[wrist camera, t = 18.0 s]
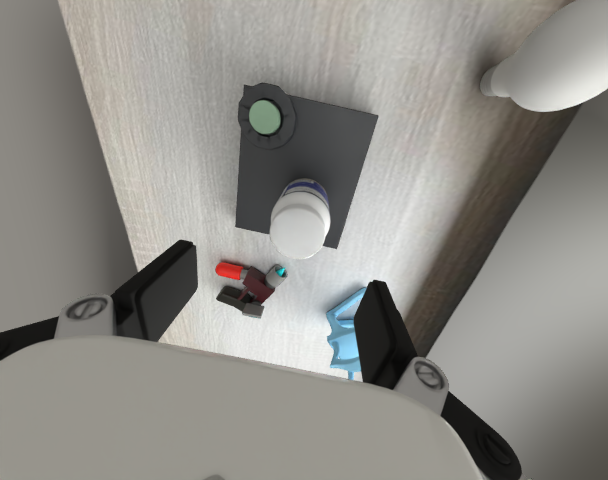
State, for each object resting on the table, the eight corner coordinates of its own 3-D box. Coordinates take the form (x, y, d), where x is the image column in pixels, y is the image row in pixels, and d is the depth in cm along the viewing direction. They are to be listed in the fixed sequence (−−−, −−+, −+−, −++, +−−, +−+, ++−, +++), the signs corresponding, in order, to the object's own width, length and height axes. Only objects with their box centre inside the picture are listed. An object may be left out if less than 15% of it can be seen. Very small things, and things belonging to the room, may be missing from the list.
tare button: (254, 99, 21) (250, 96, 20) (282, 105, 21) (280, 103, 20) (252, 130, 22) (247, 130, 21) (278, 136, 23) (275, 136, 21)
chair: (319, 303, 36) (318, 375, 26) (366, 286, 34) (386, 357, 23) (339, 333, 39) (345, 409, 28) (384, 319, 37) (409, 396, 26)
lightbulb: (508, 116, 23) (648, 106, 13) (448, 118, 23) (539, 108, 14) (535, 41, 20) (737, -45, 10) (466, 44, 21) (596, -35, 11)
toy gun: (295, 268, 34) (290, 289, 29) (253, 311, 38) (244, 333, 34) (242, 231, 31) (229, 247, 27) (205, 281, 36) (189, 301, 32)
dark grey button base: (249, 84, 23) (238, 76, 20) (375, 113, 24) (383, 110, 20) (240, 221, 31) (230, 232, 28) (336, 242, 31) (337, 255, 28)
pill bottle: (307, 231, 28) (300, 276, 20) (272, 202, 27) (248, 237, 18) (338, 199, 26) (346, 233, 17) (302, 166, 25) (291, 186, 16)
